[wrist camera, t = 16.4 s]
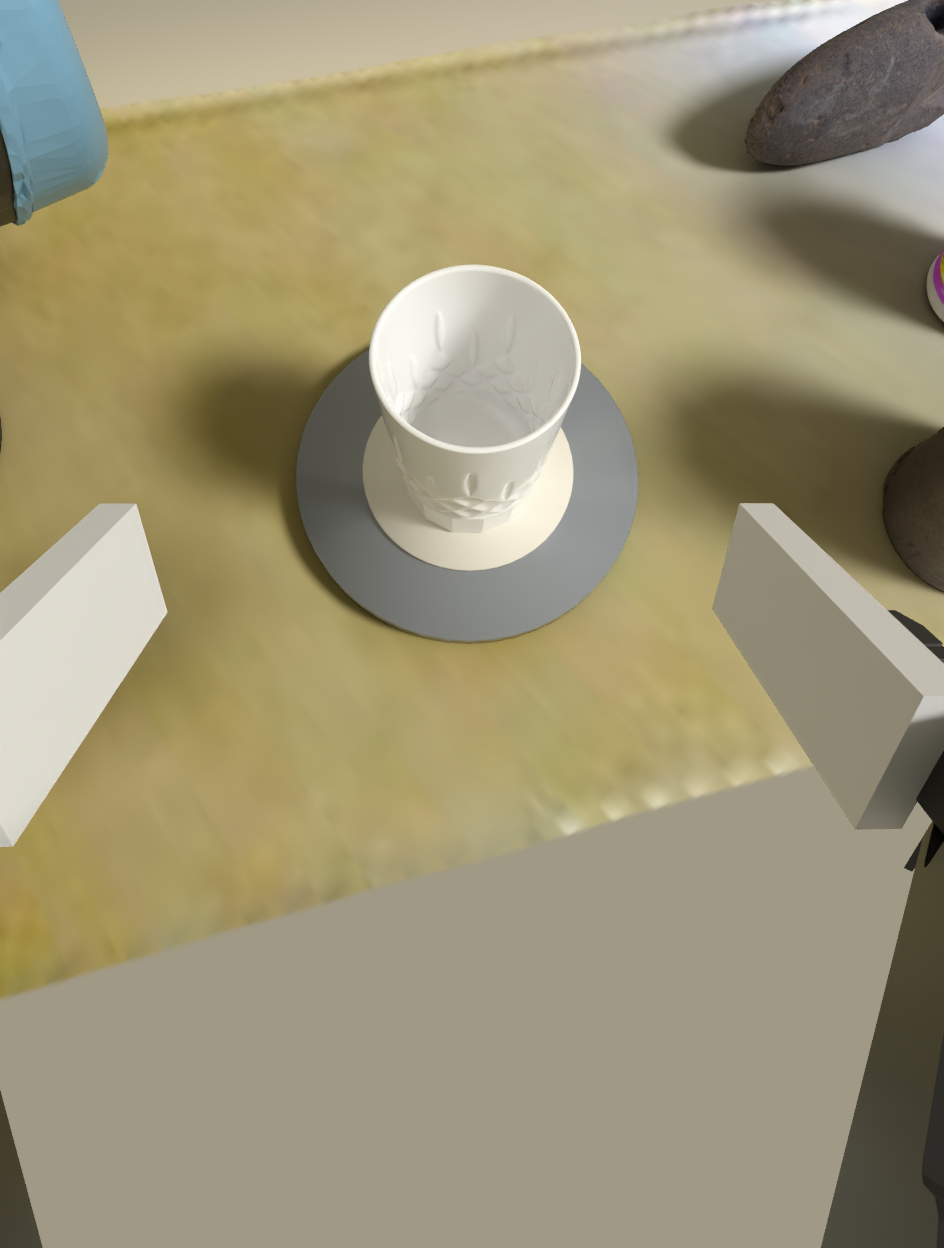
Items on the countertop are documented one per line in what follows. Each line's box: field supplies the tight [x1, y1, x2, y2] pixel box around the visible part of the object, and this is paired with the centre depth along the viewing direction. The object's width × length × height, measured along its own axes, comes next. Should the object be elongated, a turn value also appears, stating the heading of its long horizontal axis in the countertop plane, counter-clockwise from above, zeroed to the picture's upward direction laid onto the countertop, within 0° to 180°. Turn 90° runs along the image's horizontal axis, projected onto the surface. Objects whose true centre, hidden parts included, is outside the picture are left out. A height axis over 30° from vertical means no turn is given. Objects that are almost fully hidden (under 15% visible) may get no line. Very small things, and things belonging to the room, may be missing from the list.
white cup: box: [369, 265, 581, 533], centre depth 29 cm, size 8×8×10 cm
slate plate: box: [296, 349, 638, 644], centre depth 35 cm, size 18×18×2 cm
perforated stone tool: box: [745, 0, 944, 165], centre depth 38 cm, size 15×5×7 cm, turn 111°
